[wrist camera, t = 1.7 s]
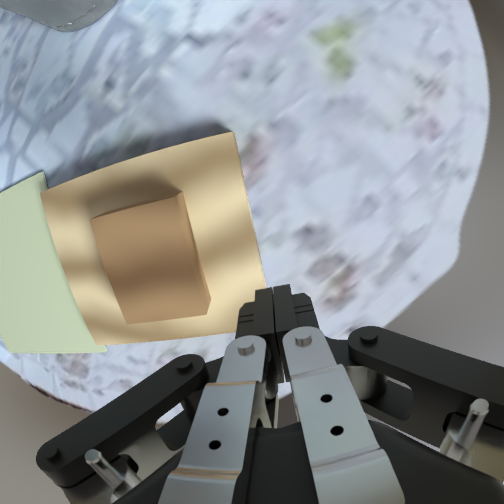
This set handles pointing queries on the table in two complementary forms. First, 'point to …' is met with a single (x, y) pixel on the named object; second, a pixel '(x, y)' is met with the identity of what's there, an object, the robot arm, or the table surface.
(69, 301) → the sage mat
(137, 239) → the walnut slab
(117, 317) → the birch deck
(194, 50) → the table surface
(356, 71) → the table surface
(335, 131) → the table surface
